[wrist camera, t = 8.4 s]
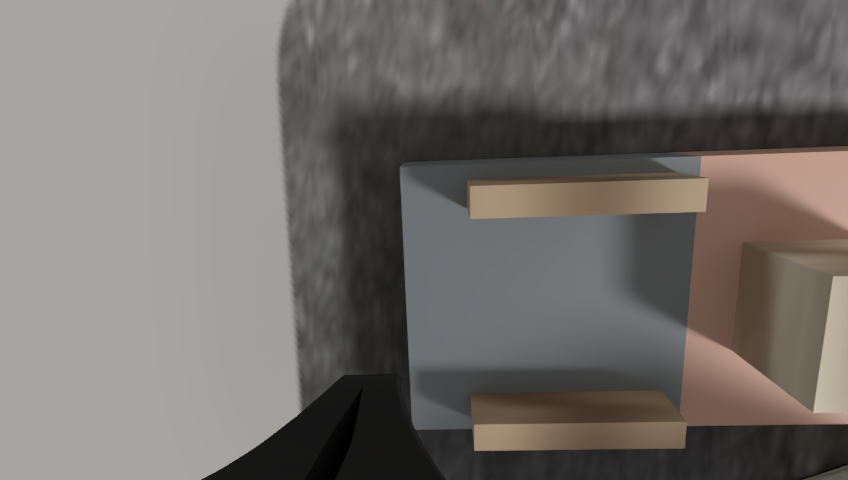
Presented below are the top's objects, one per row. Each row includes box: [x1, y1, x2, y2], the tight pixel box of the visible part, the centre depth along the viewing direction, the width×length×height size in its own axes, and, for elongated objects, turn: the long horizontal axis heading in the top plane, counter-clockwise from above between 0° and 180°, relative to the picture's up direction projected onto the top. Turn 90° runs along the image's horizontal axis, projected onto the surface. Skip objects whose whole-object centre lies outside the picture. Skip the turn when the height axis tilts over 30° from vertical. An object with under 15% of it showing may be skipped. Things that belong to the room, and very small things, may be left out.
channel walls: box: [466, 172, 709, 451], centre depth 17 cm, size 7×9×2 cm
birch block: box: [732, 239, 848, 413], centre depth 15 cm, size 4×4×4 cm
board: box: [400, 146, 848, 430], centre depth 19 cm, size 22×10×2 cm, turn 92°
